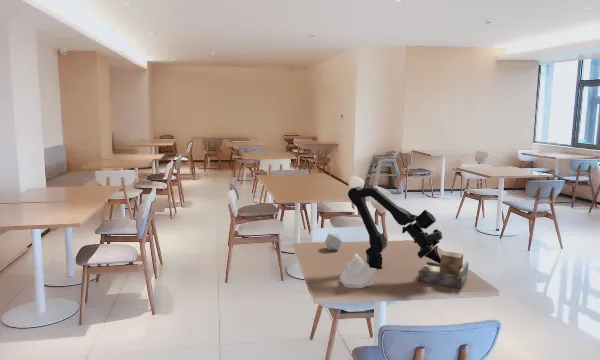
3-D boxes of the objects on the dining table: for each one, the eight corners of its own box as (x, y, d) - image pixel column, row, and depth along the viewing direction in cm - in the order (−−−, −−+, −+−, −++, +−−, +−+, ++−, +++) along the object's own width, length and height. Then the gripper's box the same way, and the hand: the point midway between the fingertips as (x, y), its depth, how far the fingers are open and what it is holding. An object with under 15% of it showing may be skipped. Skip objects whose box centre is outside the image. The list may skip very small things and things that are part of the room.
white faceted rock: (373, 294, 198) (371, 263, 193) (337, 292, 202) (334, 262, 197) (377, 277, 209) (375, 248, 204) (342, 275, 213) (339, 247, 208)
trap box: (418, 280, 211) (419, 264, 210) (426, 270, 225) (427, 255, 224) (460, 288, 203) (462, 271, 202) (467, 278, 217) (468, 261, 216)
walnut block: (439, 272, 211) (441, 254, 210) (443, 268, 217) (444, 250, 216) (458, 276, 207) (460, 257, 206) (461, 271, 213) (463, 254, 212)
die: (336, 253, 249) (346, 237, 251) (321, 244, 250) (332, 228, 252) (334, 255, 258) (344, 239, 260) (320, 245, 259) (330, 230, 261)
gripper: (427, 228, 206) (451, 258, 202) (436, 220, 222) (459, 247, 218) (407, 243, 210) (431, 272, 207) (418, 234, 227) (440, 261, 223)
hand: (441, 263), depth 214 cm, fingers closed, pressing on walnut block
